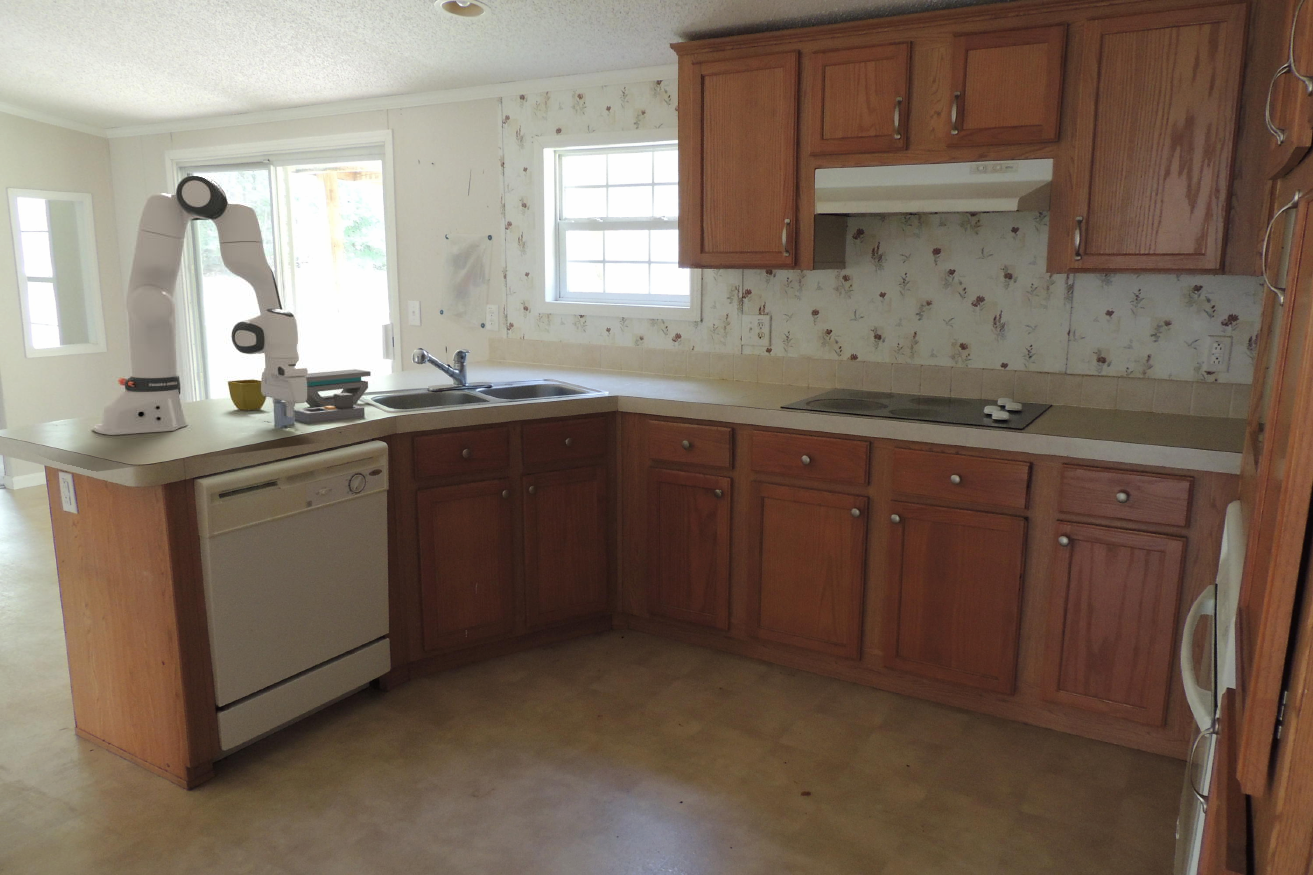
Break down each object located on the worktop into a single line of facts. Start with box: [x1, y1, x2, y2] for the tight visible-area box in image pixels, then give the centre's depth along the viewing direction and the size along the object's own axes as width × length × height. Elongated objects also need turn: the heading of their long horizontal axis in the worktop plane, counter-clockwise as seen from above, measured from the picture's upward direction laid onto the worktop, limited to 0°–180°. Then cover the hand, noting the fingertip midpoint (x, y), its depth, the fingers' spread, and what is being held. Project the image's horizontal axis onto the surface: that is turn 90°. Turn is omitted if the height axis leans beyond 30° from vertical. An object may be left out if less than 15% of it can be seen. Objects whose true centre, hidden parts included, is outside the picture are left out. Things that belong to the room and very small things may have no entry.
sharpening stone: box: [305, 368, 372, 408], centre depth 293 cm, size 25×8×11 cm, turn 147°
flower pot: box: [227, 378, 267, 412], centre depth 280 cm, size 9×9×9 cm
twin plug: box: [333, 392, 353, 409], centre depth 267 cm, size 4×4×7 cm
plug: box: [273, 401, 296, 430], centre depth 254 cm, size 4×4×7 cm
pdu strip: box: [294, 404, 366, 425], centre depth 264 cm, size 18×8×5 cm, turn 139°
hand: (284, 415), depth 254 cm, fingers closed on plug, 4 cm apart
